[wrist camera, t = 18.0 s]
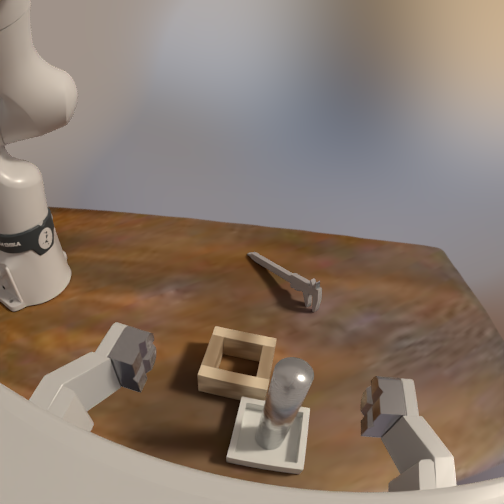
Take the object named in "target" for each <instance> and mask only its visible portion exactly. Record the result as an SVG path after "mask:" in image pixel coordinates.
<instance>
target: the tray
mask: <svg viewBox="0 0 504 504" xmlns="http://www.w3.org/2000/svg"><path fill="white" fill-rule="evenodd" d="M264 404H265V401H263V400H258V399H253V398H248V397H243V396H242V398H241V402H240V406H239V410H238V414H237V418H236V422H235V426H234V430H233V434H232V438H231V442H230V446H229V449H228V453H227V457H226V462H229V463H233V464H238V465H243V466H248V467H254V468H259V469H265V470H272V471H278V472H285V473H293V474H300V473H301V472H302V471H303V468H304V460H305V452H306V443H307V433H308V423H309V413H310V408H305V407H300V409H299V411H298V413H297V415H296V417H295V419H294V421H293V423H292V426H291V428H290V430H289V432H288V434H287V435H286V437H285V439H284V441H283V443H282V445H281V446H280V447H279V448H277V449H274V450H266V449H263V448H261V447H260V446H259V445H258V444H257V442H256V440H255V435H256V431H257V428H258V425H259V421H260V418H261V414H262V411H263V408H264Z"/></svg>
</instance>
